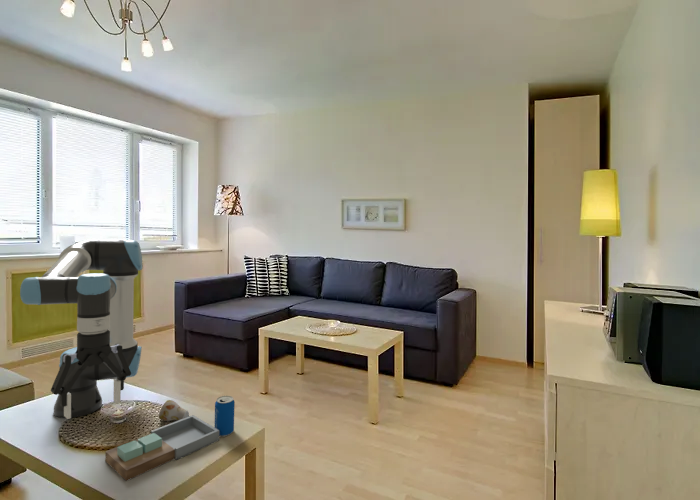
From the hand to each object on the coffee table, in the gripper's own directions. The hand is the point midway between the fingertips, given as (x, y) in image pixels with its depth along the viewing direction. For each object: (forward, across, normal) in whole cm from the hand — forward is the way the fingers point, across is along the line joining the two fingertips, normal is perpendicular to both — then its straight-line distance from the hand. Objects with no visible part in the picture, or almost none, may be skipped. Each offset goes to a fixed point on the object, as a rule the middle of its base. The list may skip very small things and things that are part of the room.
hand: (93, 409), depth 109 cm
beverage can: (+20, +39, -5) cm, 44 cm away
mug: (+21, +33, +16) cm, 42 cm away
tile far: (+17, +16, 0) cm, 23 cm away
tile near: (+17, +10, 0) cm, 20 cm away
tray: (+20, +27, 0) cm, 34 cm away
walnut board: (+20, +13, 0) cm, 24 cm away
